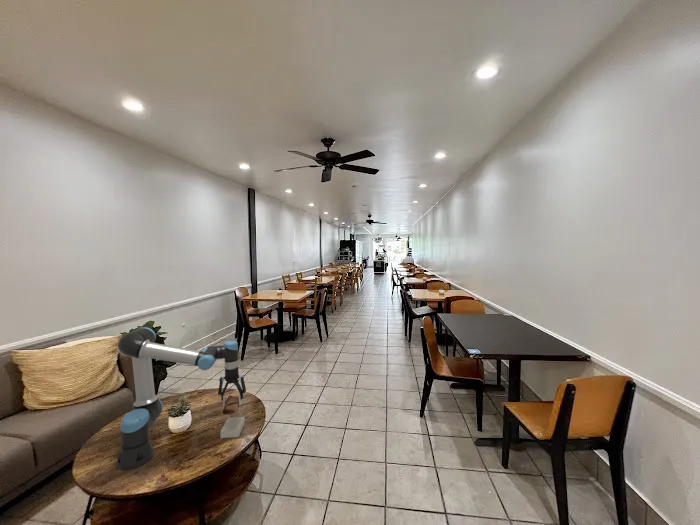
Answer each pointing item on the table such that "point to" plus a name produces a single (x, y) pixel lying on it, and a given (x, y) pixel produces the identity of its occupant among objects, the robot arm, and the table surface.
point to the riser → (232, 427)
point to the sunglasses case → (231, 405)
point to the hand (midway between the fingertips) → (232, 405)
